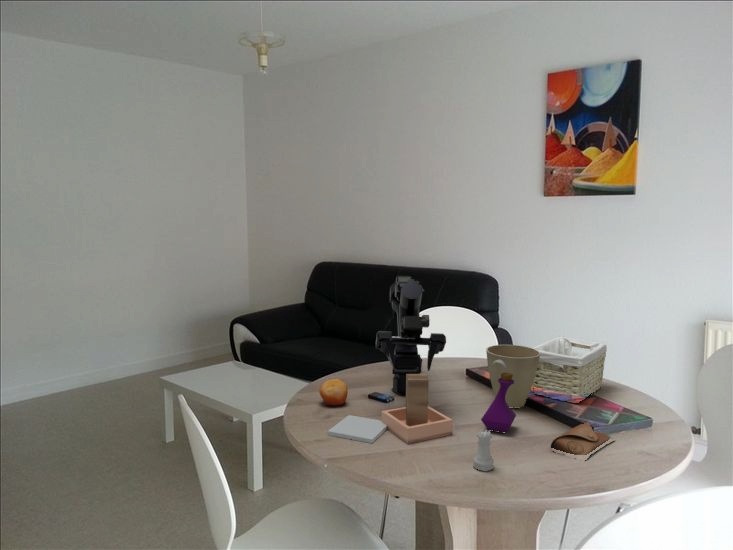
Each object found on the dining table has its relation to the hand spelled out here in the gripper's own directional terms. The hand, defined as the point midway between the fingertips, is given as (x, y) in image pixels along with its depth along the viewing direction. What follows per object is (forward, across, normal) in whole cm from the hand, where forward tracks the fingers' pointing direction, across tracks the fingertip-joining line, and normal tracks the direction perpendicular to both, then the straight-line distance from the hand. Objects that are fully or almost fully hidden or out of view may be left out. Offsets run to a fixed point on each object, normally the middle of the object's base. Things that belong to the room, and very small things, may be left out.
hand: (411, 369), depth 144 cm
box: (+15, +1, +4) cm, 15 cm away
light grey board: (+15, -13, +4) cm, 21 cm away
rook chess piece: (+29, +13, -12) cm, 34 cm away
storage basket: (-7, +52, +25) cm, 58 cm away
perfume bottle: (+14, +22, +4) cm, 27 cm away
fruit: (+2, -20, +19) cm, 28 cm away
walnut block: (+14, +1, +4) cm, 15 cm away
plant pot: (+2, +31, +17) cm, 35 cm away
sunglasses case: (+21, +40, -4) cm, 45 cm away
